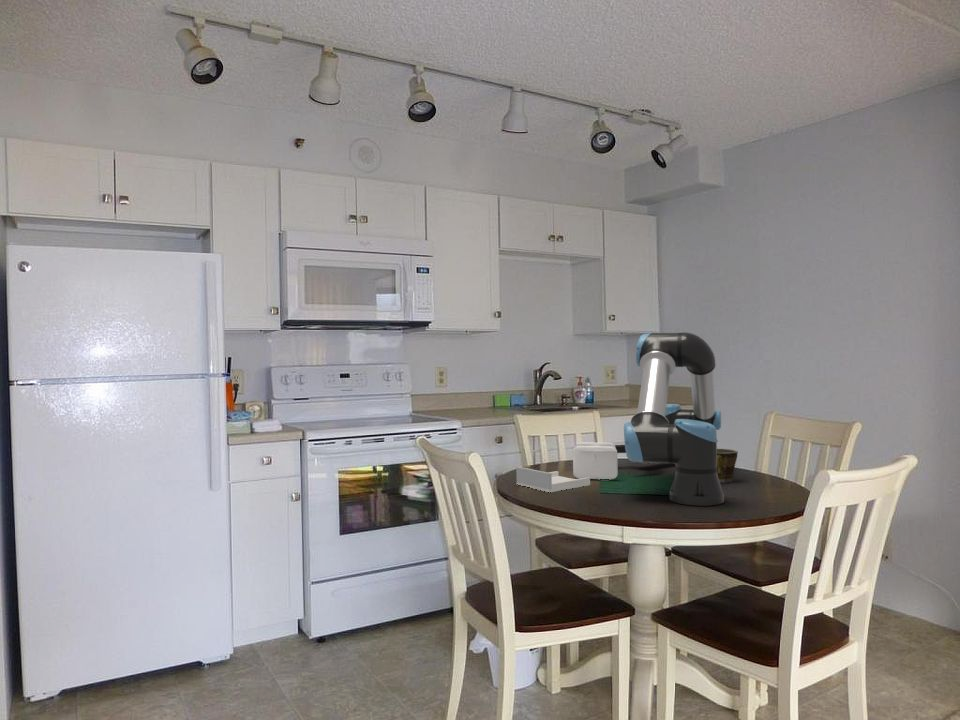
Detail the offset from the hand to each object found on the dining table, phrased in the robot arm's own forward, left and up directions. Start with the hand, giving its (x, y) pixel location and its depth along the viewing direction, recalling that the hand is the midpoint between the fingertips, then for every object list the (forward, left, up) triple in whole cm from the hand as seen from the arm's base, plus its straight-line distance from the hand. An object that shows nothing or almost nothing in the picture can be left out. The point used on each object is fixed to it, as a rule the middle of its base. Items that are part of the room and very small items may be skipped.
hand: (614, 454), depth 245 cm
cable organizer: (0, +10, -7) cm, 12 cm away
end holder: (0, +30, -7) cm, 31 cm away
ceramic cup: (-32, -16, -7) cm, 37 cm away
